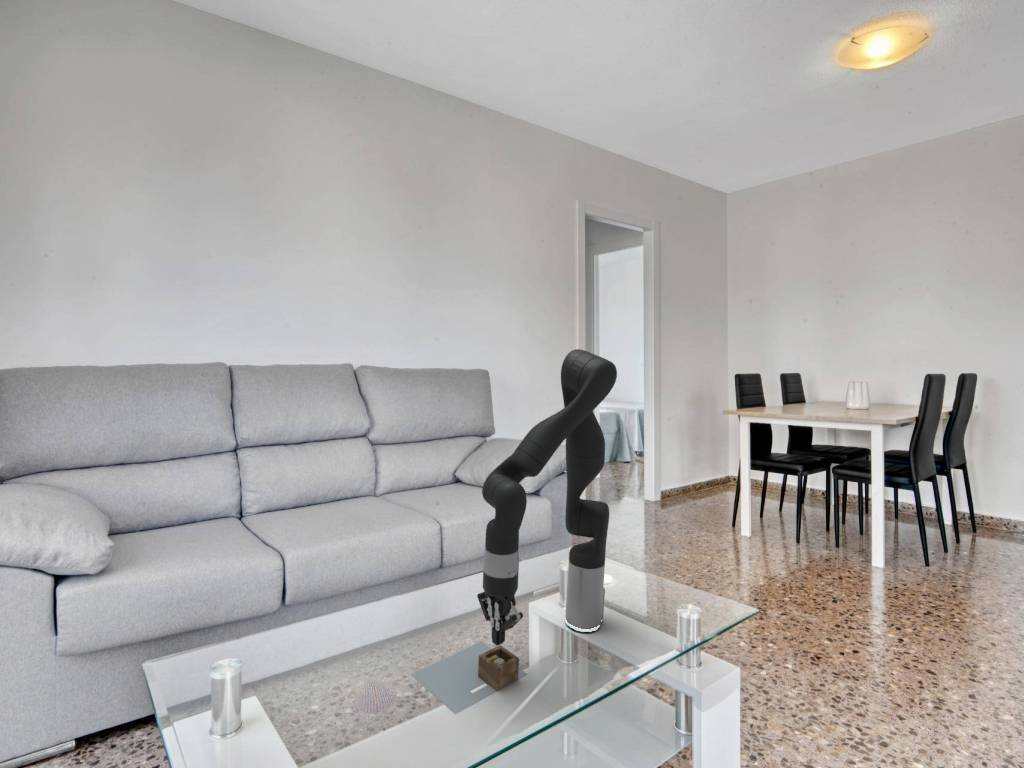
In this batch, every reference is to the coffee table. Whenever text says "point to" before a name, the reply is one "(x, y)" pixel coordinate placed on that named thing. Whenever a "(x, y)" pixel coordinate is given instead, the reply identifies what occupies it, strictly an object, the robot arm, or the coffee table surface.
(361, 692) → the seashell
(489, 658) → the open wooden crate
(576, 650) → the coffee table surface
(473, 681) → the shaft plate
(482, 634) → the coffee table surface
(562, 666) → the coffee table surface
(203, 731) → the coffee table surface
